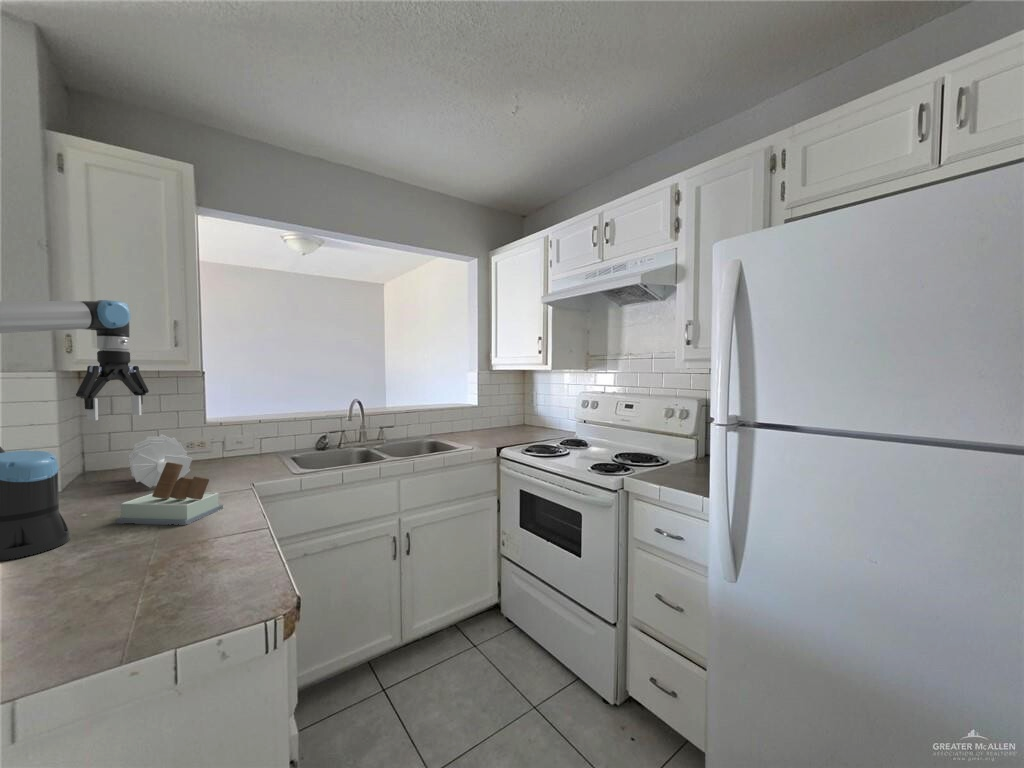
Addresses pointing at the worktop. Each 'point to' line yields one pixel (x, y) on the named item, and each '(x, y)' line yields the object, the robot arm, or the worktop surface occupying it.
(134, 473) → the spiral staircase
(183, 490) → the wooden block set
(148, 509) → the base
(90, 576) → the worktop surface
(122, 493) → the worktop surface
